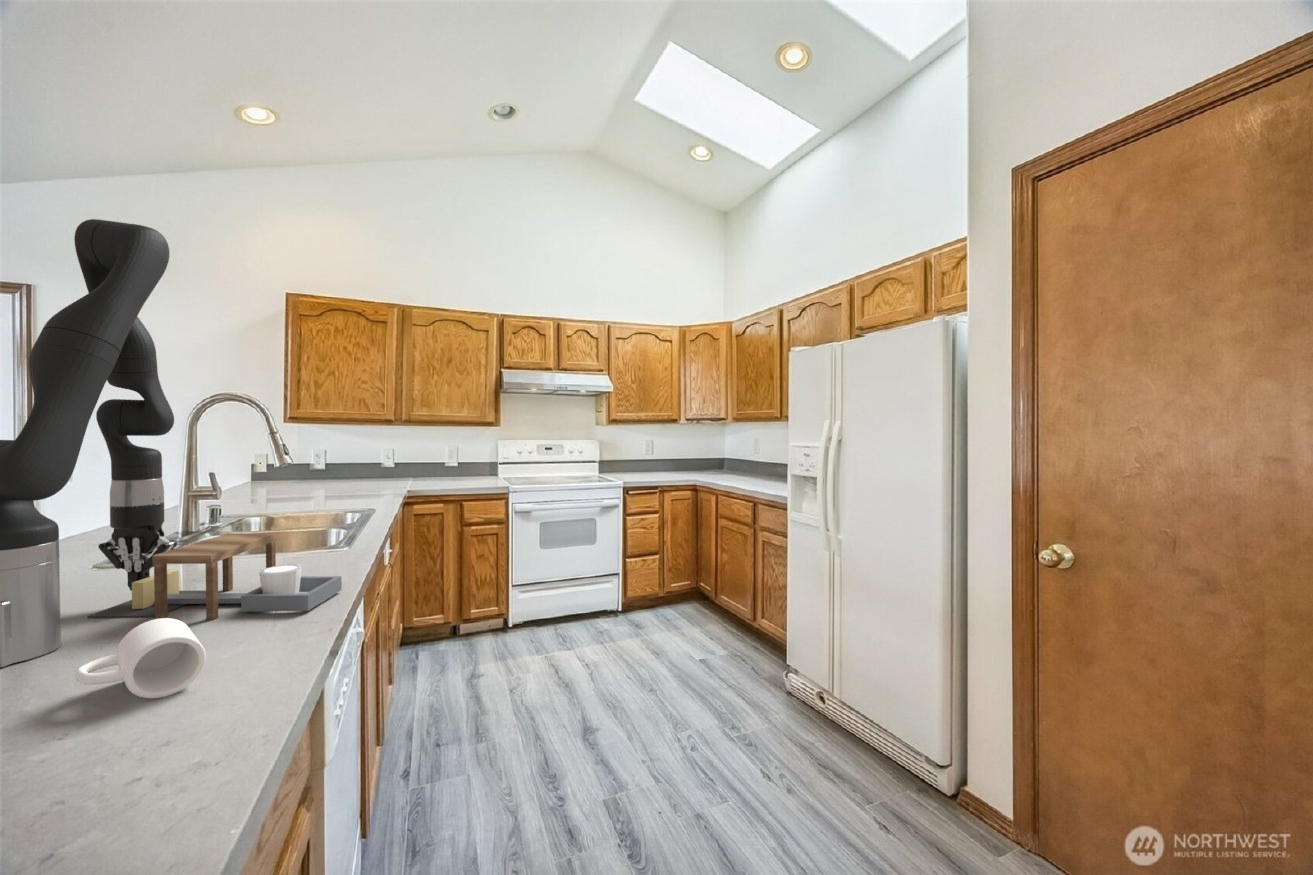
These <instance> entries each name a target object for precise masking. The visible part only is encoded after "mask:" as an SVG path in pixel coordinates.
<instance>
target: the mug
mask: <svg viewBox="0 0 1313 875" xmlns="http://www.w3.org/2000/svg"><path fill="white" fill-rule="evenodd" d="M206 653H207V652H206V650H205V647H204V645H202V643H201V642H200V641H199V639H198V638H197V637H196V634H194V632H193V631H192V630H191V628H190V627H189V626H188V624H186V623H185V622H183V621H181V620H179V619H176V618H170V617H168V618H160V619H155V618H154V619H151V620H148V621H145V622H142V623H141V624H139V625H137V626H136V627H134V628H132V629H131V630H130V631H129V632H128V633H126V634H125V635H124V637H123V638H122V639H121V641H120V642H119V644H118V646H117V649H116V653H114V654H110V655H106V656H103V657H100V658H99V657H98V658H97V659H95V660H92V661H89V662H87V663H85V664H83V665H82V666H80V667H78V668H77V669H76V670H75V673H74V679H75V681H76V682H77V683H79V684H82V685H85V686H87V685H88V686H94V685H104V684H105V685H106V684H110V683H111V684H112V683H116V682H120V681H123V682H124V684H125V687H126V688H127V689H128V691H129V692H130V693H131V694H132V695H134V696H137V697H140V698H143V699H162V698H165V697H169V696H171V695H174V694H177V693H178V692H181V691H182V690H184V689H186V688H187V687H189V686H190V685H191V684H192V683H193V682H195V680H197V679H198V677H199V676H200V674H201V673H202V671H203V669H204V668H205V666H206V660H207V654H206ZM113 666H114V667H115V666H118V667H119V668H118V669H114V670H108V671H104V672H103V671H101V672H96V671H97V670H102V669H105V668H108V667H113ZM94 671H95V672H94Z"/></svg>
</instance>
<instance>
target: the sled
mask: <svg viewBox="0 0 1313 875" xmlns="http://www.w3.org/2000/svg"><path fill="white" fill-rule="evenodd" d="M179 573H180V571H179V570H178V569H177V570H172V569H171V570H169V569H167V604H186V605H188V604H190V605H192V604H193V605H194V604H195V605H196V604H199V605H202V604H204V605H206V593H203V594H179V591H180V574H179ZM342 583H343V582H342V576H341V575H340V576H339V575H338V576H336V575H333V576H332V575H331V576H330V575H328V576H326V575H324V576H323V575H322V576H321V575H317V576H313V575H311V576H309V575H308V576H306V575H305V576H304V575H303V576H302V575H301V578H300V588H299V594H262V589H261V586H259V587H257V588H255V589H253V590H250V591H248V592H246V593H245V592H240V593H238V592H235V593H231V592H230V593H229V592H225V593H219V592H218V604H240V605H241V610H240V611H241V612H243V613H244V612H309V611H310V610H311V609H312V610H313V609H314V608H315V607H317V606H318V605H320V604H321V603H323V602H324V601H326V600H328V599H329V598H331V597H333V596H335V595H336V594H338V593H339V592H341V591H342ZM131 600H132V609H144V608H146V607H149V606H151V605H154V604H155V594H154V574H153V575H151V576H150V577H147V578H144V579H141V580H138V581H135V582H132V591H131Z"/></svg>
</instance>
